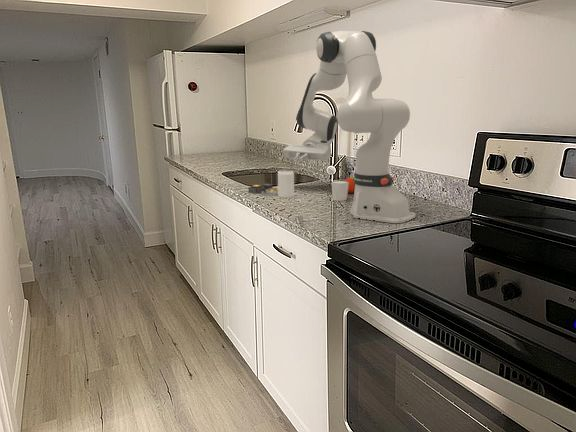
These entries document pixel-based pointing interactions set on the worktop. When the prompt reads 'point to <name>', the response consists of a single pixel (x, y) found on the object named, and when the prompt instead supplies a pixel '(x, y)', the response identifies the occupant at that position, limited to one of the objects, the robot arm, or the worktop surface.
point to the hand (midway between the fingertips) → (298, 159)
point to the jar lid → (272, 191)
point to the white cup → (339, 190)
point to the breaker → (256, 186)
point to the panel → (261, 190)
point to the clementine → (350, 184)
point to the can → (285, 183)
